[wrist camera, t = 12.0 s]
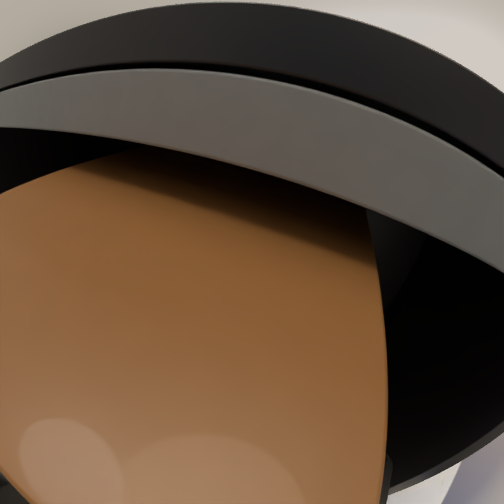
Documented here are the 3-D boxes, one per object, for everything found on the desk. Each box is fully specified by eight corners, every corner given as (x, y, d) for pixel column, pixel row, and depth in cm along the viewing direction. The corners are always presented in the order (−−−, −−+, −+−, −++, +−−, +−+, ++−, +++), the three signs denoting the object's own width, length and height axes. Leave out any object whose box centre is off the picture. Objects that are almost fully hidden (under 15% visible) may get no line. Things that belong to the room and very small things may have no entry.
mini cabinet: (335, 390, 25) (466, 159, 12) (306, 516, 13) (630, 261, 1) (151, 317, 28) (170, 73, 16) (71, 408, 16) (-18, 73, 4)
